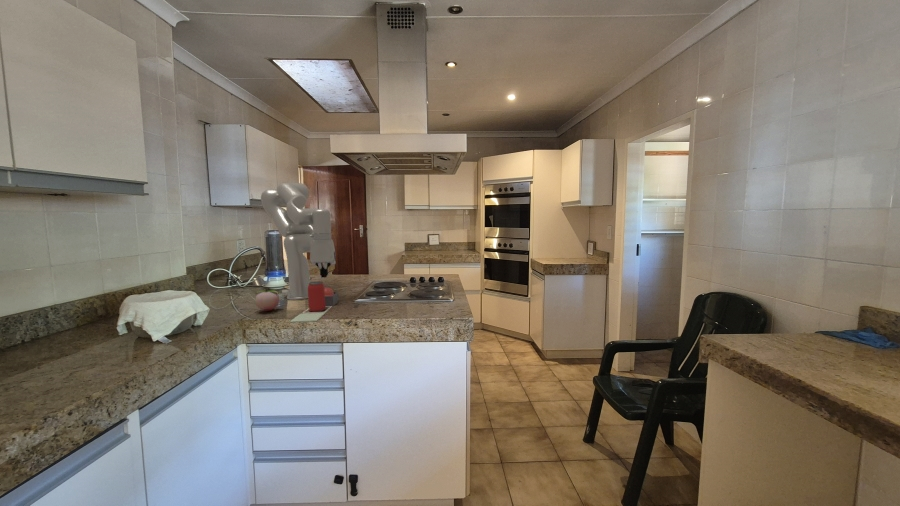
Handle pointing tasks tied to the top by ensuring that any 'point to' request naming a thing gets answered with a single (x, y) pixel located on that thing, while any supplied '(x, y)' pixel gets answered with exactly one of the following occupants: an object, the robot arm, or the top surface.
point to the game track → (316, 316)
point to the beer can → (316, 296)
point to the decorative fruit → (267, 300)
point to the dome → (328, 291)
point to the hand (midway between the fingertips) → (324, 277)
